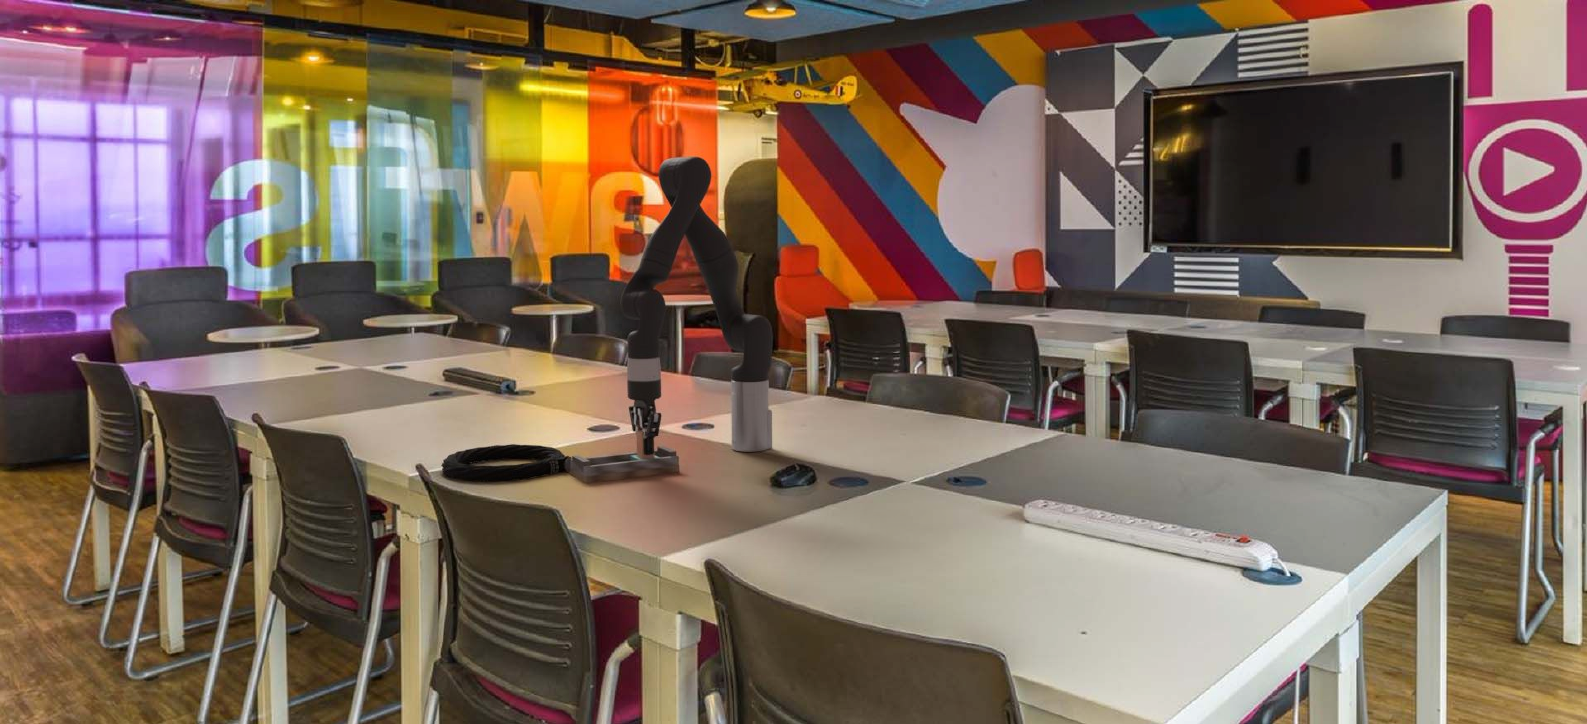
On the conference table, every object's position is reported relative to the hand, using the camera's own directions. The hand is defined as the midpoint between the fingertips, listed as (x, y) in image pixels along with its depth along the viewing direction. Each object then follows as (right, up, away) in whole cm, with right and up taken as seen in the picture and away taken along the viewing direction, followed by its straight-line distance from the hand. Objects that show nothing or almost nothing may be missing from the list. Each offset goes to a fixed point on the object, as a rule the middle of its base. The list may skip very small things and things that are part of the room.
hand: (645, 452), depth 259 cm
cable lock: (-32, -5, +3) cm, 32 cm away
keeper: (0, -3, 0) cm, 3 cm away
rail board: (-4, -4, -2) cm, 6 cm away
